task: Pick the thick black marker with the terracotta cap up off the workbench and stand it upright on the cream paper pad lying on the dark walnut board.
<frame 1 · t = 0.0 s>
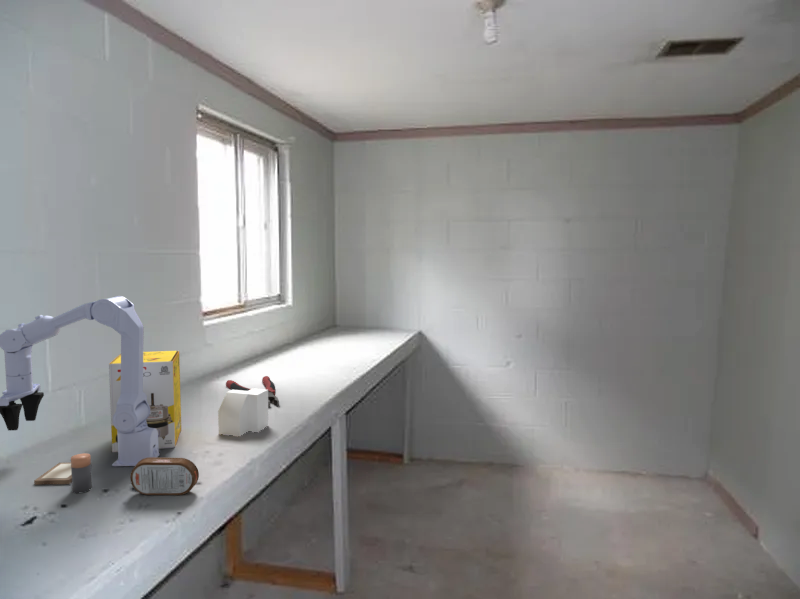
hand: (22, 425, 144), 10 cm above the table, tool pointing down, fingers open, 7 cm apart
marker: (82, 489, 130), on the table
pliers: (253, 397, 213), on the table
corner bracket: (244, 430, 173), on the table
walnut board: (64, 474, 138), on the table
tin: (164, 494, 128), on the table
packaging box: (148, 440, 163), on the table
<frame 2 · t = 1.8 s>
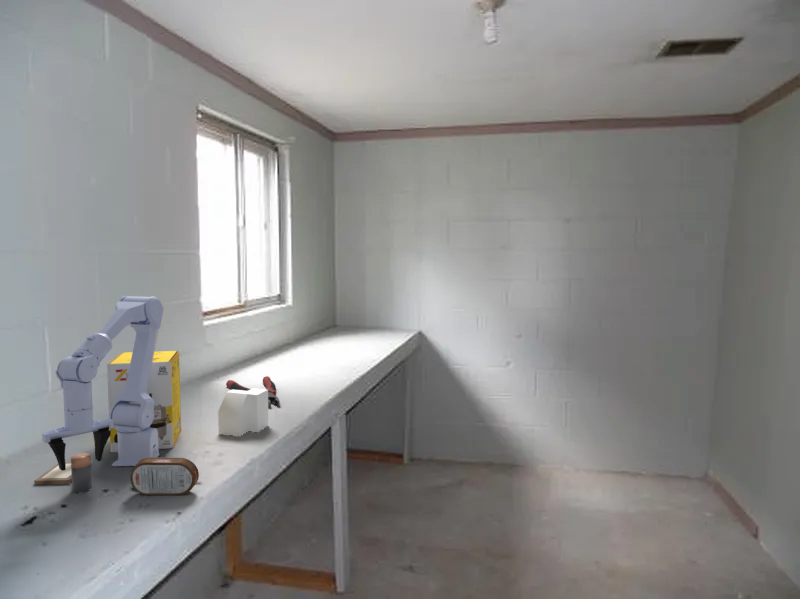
hand: (80, 464, 129), 6 cm above the table, tool pointing down, fingers open, 7 cm apart
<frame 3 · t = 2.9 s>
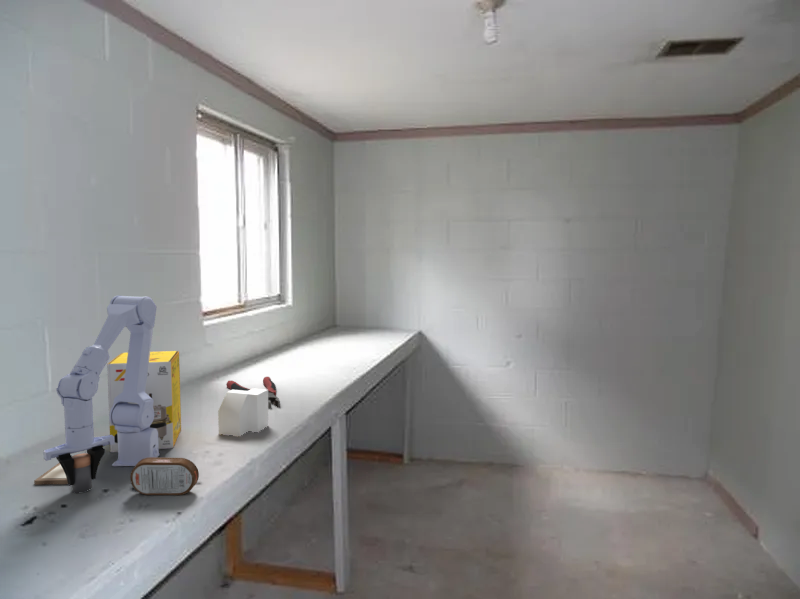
hand: (81, 481, 130), 2 cm above the table, tool pointing down, fingers closed on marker, 4 cm apart
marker: (82, 489, 130), on the table, touching gripper
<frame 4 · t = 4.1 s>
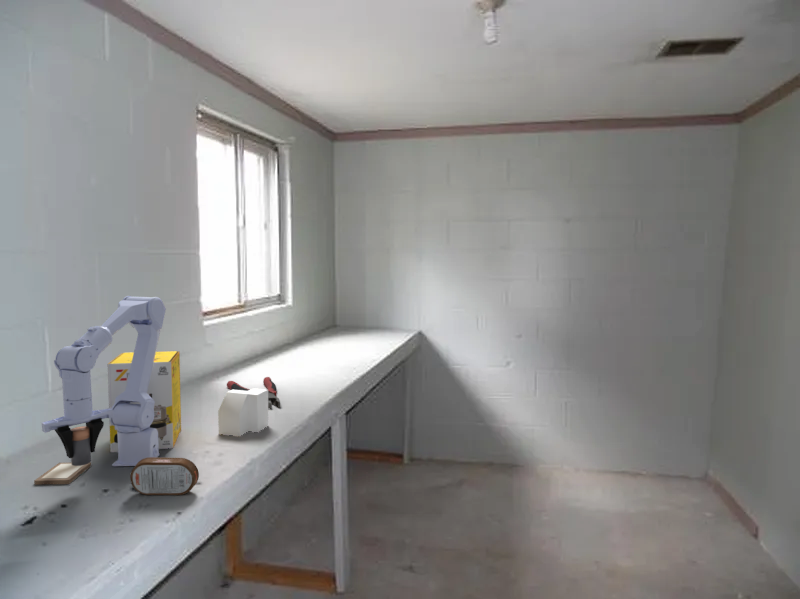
hand: (80, 453, 129), 9 cm above the table, tool pointing down, fingers closed on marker, 4 cm apart
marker: (81, 462, 129), point 7 cm above the table, touching gripper
packaging box: (147, 441, 163), on the table, touching arm
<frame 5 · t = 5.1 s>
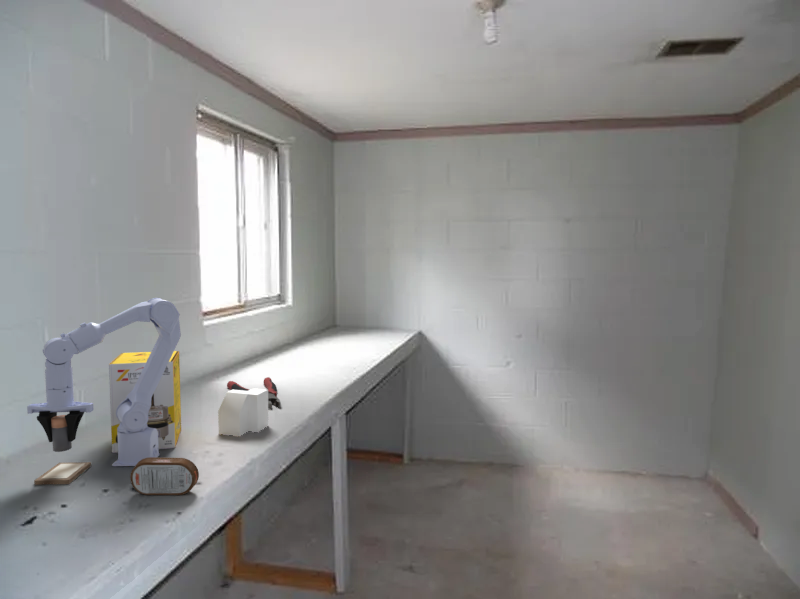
hand: (62, 440, 137), 9 cm above the table, tool pointing down, fingers closed on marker, 4 cm apart
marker: (62, 448, 137), point 7 cm above the table, touching gripper
packaging box: (148, 441, 163), on the table
when the fingers open (4 cm above the table, at t = 6.6 s): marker stays where it is, resting on walnut board.
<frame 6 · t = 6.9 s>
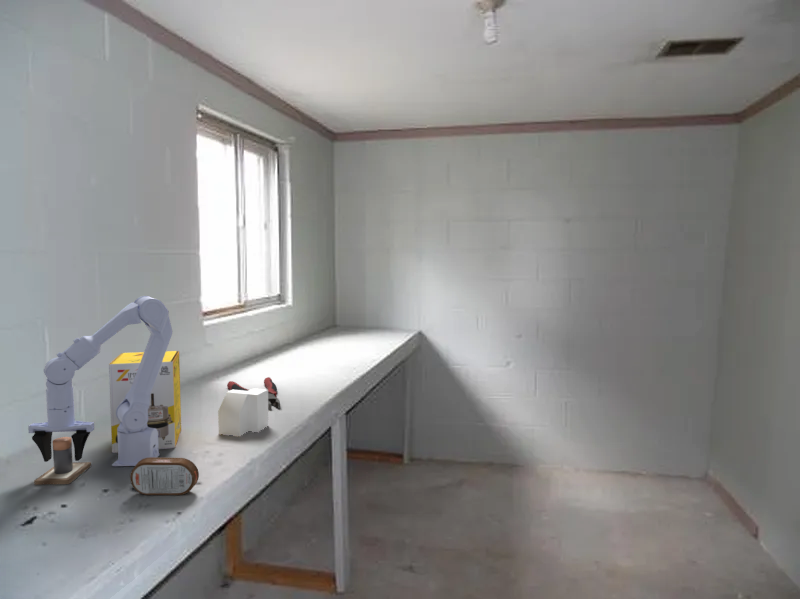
hand: (63, 459, 138), 4 cm above the table, tool pointing down, fingers open, 7 cm apart
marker: (63, 470, 138), point 1 cm above the table, touching walnut board
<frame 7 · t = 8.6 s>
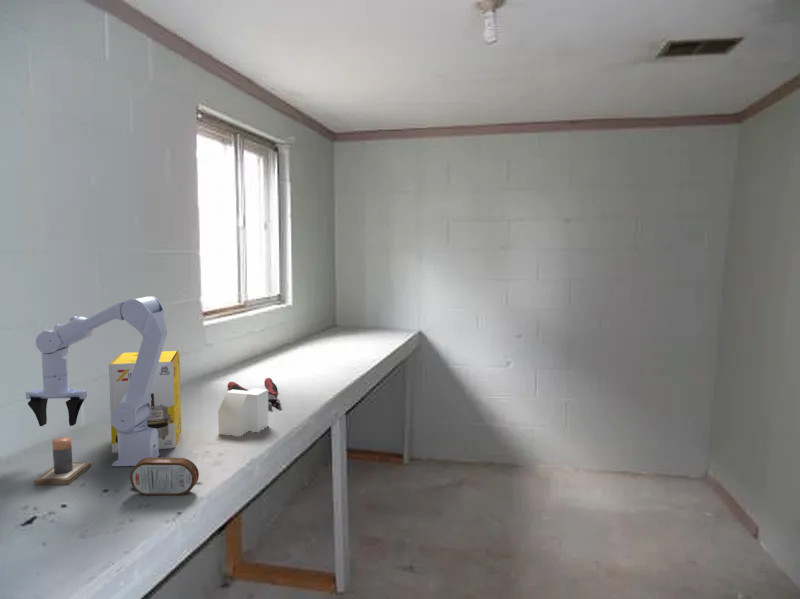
hand: (58, 424, 147), 9 cm above the table, tool pointing down, fingers open, 7 cm apart
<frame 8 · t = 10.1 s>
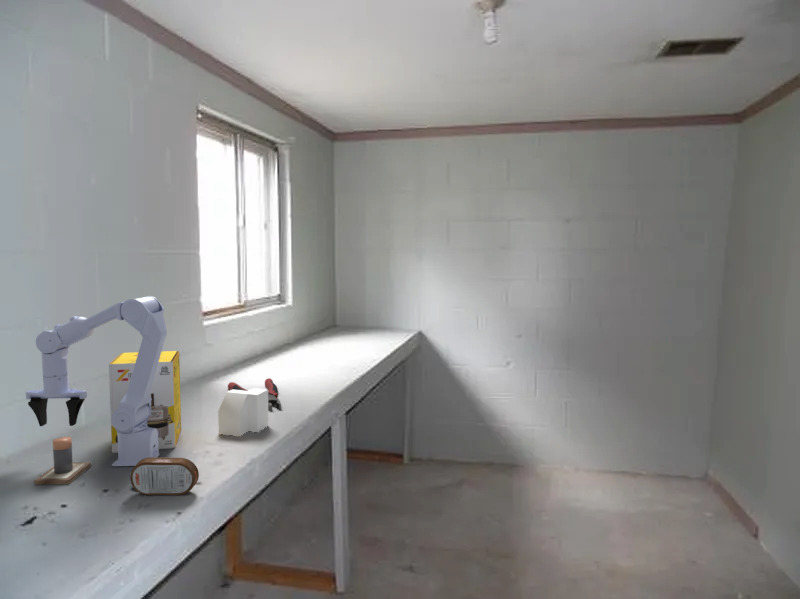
hand: (58, 424, 147), 9 cm above the table, tool pointing down, fingers open, 7 cm apart
at the end: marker 0.1 cm off-centre on the walnut board, point 1.1 cm above the walnut board's base; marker tilted 1°; the gripper is holding nothing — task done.
